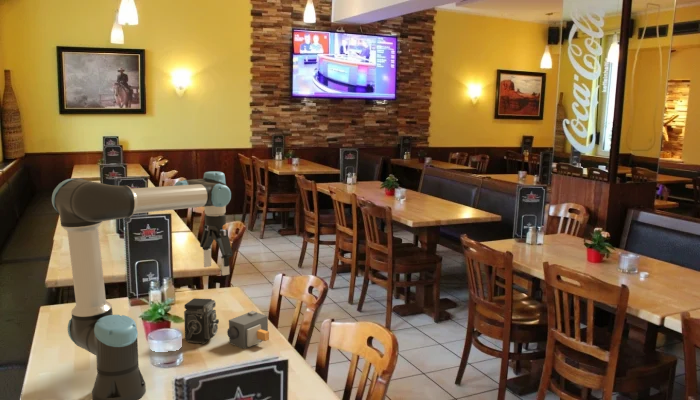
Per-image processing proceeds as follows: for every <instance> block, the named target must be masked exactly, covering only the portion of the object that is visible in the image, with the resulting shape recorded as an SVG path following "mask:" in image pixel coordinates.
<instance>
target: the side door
mask: <svg viewBox="0 0 700 400" xmlns="http://www.w3.org/2000/svg"><path fill="white" fill-rule="evenodd" d="M261 340H263V341H261ZM269 340H270V332H269V330H268V331H265V330H262V329H261V325H260V324H259V325H257V326H254V327H252V328H249V329H247V346H248V347H247V348H249V346H250V347H252V346H254V345H257V344H258V342H259V343H261V342H267V341H269ZM256 343H257V344H256Z"/></svg>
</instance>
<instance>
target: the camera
mask: <svg viewBox="0 0 700 400" xmlns="http://www.w3.org/2000/svg"><path fill="white" fill-rule="evenodd" d="M183 307H184V309H185V310H184V312H183V316H184V317H183V319H184V322H183V323H184V340H185V342H188V343H195V344H197V343H198V344H203V345H204V344H206V343H207V342H208V341H210V340H211V339H212V338H214V337H215V336H216V335H217V333H218V329H219V327H218V326H219V325H218V324H219V322H220V321H219V319H217V314H216V312H217V310H216V309H214V308H216V301H215V300H214V299H212V298H194V297H193V298H192V299H191V300H190V301H187V303H185V304H184V306H183Z"/></svg>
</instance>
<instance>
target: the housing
mask: <svg viewBox="0 0 700 400" xmlns="http://www.w3.org/2000/svg"><path fill="white" fill-rule="evenodd" d="M268 319H269V317H268V315H266V314H263V313H259V312H257V311H254V310H251V311H248V312H247V313H245V314H241V315H239V316H236V317H233V318H231V319H228V328H227V332H226V333H227V336H228V340H229V341H228V342H229V344H231V345H233V346H236V347H238V348H242V349H244V350H245V349H247V348H249V347H251V346H249V347H248V346H247V329H249V328H252V327H254V326H257V325H259V324H260V325H261V329H262V330H265V331H268V332H269V325H268V324H269V320H268ZM261 342H264V341H263V340H261ZM258 343H260V342H258ZM258 343H256V344H255V345H257V344H258Z"/></svg>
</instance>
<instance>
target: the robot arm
mask: <svg viewBox="0 0 700 400" xmlns="http://www.w3.org/2000/svg"><path fill="white" fill-rule="evenodd" d="M231 199H232V191H231V189H230V188H229V187H228V186H227V183H226V176H225V173H224V172H222V171H205V172H204V173H203V178H198V179H197V178H196V179H195V178H194V179H184V180H178V181H177V182H175V183H174V185H166V186H151V187H150V186H149V187H138V188H135V187H134V188H132V187H130V186H128V185H113V184H112V185H111V184H106V183H101V182H97V181H91V180H86V179H84V178H67V179H65V180H63V181H62V182H59V183H58V185H56V187H55V188H54V189H53V192H52V195H51V204H52V206H53V208H54V210H55V211H56V212H57V213H59V219H60V220H59V221H60V226H61V228H63V229H64V230H66V231H67V238H68V240H67V241H68V247H69V258H70V263H71V264H70V266H71V274H72V281H73V289H74V298H75V306H74V308H72V309H71V318H70V319H69V321H68V323H67V334H68V337H69V339H70V340H71V341H72V342H73V343H74V344H75V345H76V346H78V347H79V348H81V349H84V350H85V351H87V352H88V353H91V354H92V355H94V356H95V357H96V376H95V380H94V383H93V388H92V391H91V392H92V393H91V397H92V398H91V399H92V400H140V399H141V398H142V397H143V396H144V395H145V394H146V390H147V388H146V381H145V378H144V377H143V376H144V375H143V374H142V372H141V370H140V367H139V366H140V365H139V348H138V347H139V343H138V335H139V334H138V332H139V331H138V329H137V323H136V321H135V320H134V319H133V318H132V317H130V316H128V315H123V314H122V315H120V314H113V305H112V304H111V303H110V302H109V301H107V300H106V299H107V298H106V288H105V281H104V280H105V279H104V269H103V260H102V251H101V243H100V241H101V239H100V234H99V233H100V232H99V227H100V226H101V224H102V223H103V222H107V221H113V220H120V219H129V218H131V217H132V216H134V215H136V214H143V213H144V214H145V213H152V212H153V213H154V212H163V211H173V210H184V209H192V208H193V209H194V208H201V207H204V214H205V215H204V225H203V231H202V237H201V240H200V244H199V246H200V248H202V250H203V267H204V268H208V267H209V268H210V267H212V244H213V242H214V241H215V242H216V243H217V245H218V248H219V251H220V253H221V257H220V260H221V264H220V265H221V276H227V275H230V258H231V257H233V256H234V254H233V249H232V245H231V242H230V238H229V230H228V229H224V226H225V225H226V224H227V215H226V212H227V211H226V208H227V206H228V205H229V203H230V201H231Z"/></svg>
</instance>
